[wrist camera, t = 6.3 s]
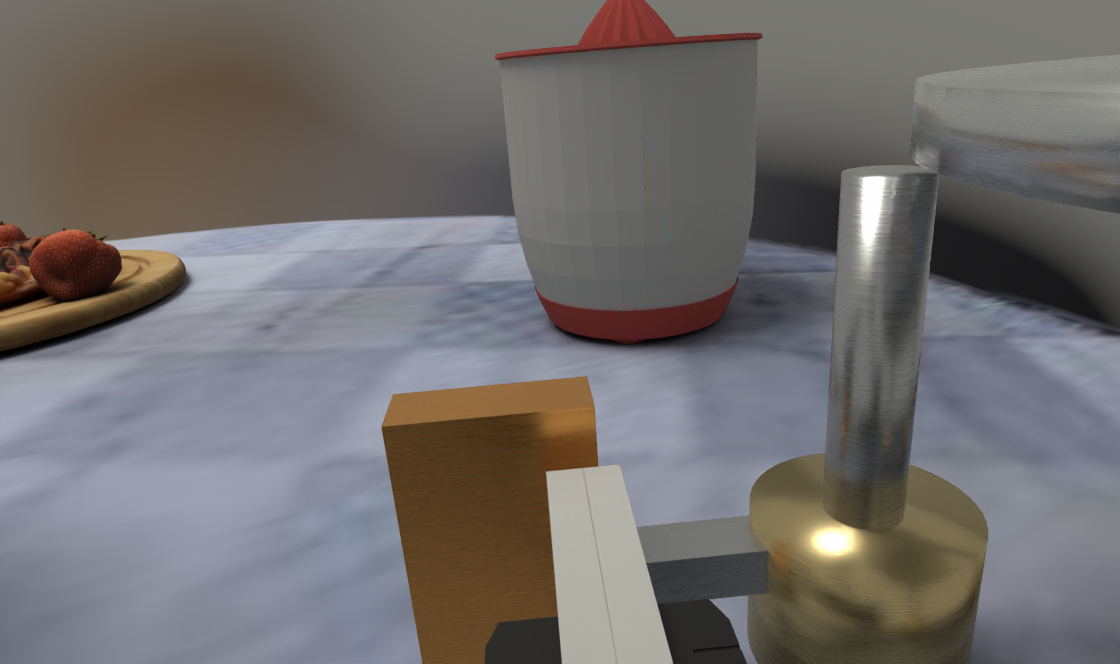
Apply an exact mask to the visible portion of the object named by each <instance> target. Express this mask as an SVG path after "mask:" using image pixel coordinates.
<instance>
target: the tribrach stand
mask: <svg viewBox="0 0 1120 664" xmlns="http://www.w3.org/2000/svg"><path fill="white" fill-rule="evenodd" d="M911 132H912V133H911V143H910V154H909V155H910V156H911V158H912V159H914V161H915V162H916V163H917V164H919V165H921V166H923V167H925V168H927V169H929V170H931V171H933V172H935V173H938V174H941V175H944V176H947V177H950V178H953V179H957V180H960V181H963V182H966V183H969V184H972V185H977V186H981V187H985V188H990V189H994V190H999V191H1003V192H1007V193H1011V194H1016V195H1020V196H1024V197H1029V198H1034V199H1040V200H1046V201H1051V202H1056V203H1062V204H1067V205H1073V206H1078V207H1084V208H1089V209H1095V210H1100V211H1106V212H1112V213H1120V55H1111V56H1099V57H1086V58H1074V59H1062V60H1051V61H1040V62H1029V63H1019V64H1009V65H999V66H990V67H981V68H973V69H965V70H957V71H950V72H943V73H937V74H932V75H927V76H923V77H920V78H918V79H917V80H916V86H915V97H914V109H913V120H912V131H911Z"/></svg>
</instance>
